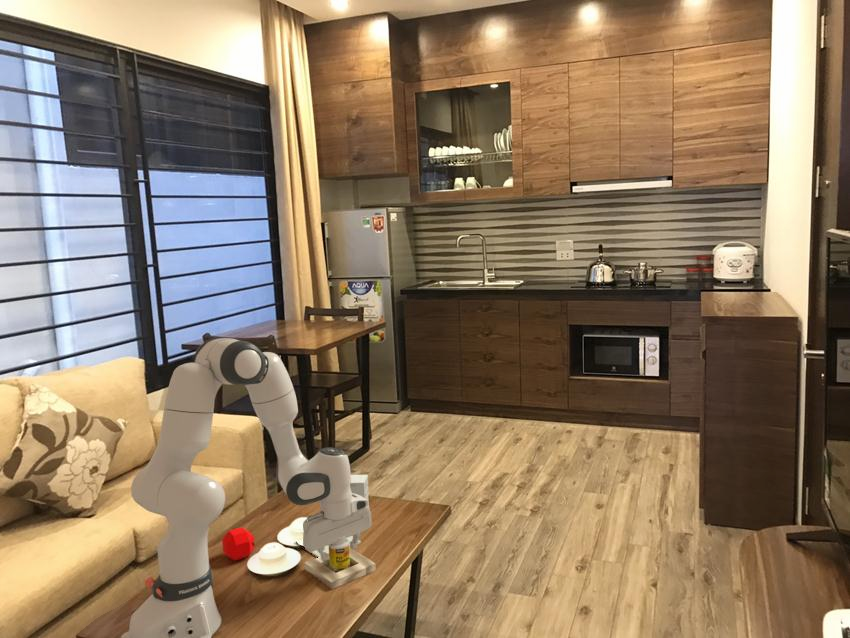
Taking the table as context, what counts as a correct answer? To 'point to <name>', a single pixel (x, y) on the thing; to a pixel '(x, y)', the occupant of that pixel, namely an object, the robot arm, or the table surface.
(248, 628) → the table surface
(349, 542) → the sage tile
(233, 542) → the ball
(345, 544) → the supplement bottle
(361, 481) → the supplement box
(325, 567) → the birch caddy
